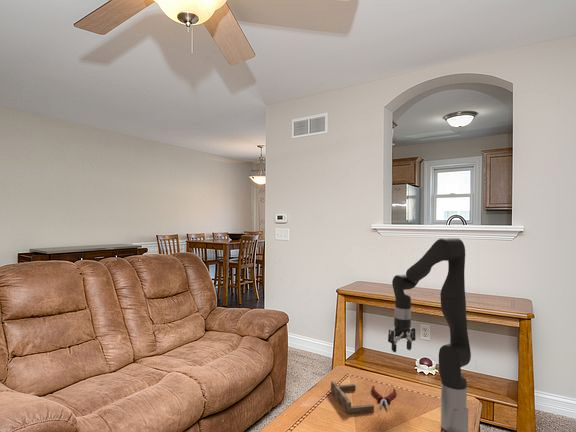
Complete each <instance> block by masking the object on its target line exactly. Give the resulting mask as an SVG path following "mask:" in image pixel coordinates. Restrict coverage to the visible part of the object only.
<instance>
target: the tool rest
mask: <svg viewBox="0 0 576 432" xmlns="http://www.w3.org/2000/svg"><path fill="white" fill-rule="evenodd" d="M356 389H357V388H356V384H355V383H350V384H340V385H338V383H336V381H335V380H330V392H331V394H332V395H333V397H334V398H335V399H336V401H337V403H339V404H340V407H341V408H343V410H344V412H345V413H346V414H347V415H357V414H364V413H365V414H366V413H373V412H375V405H374V404H372V403H370V404H360V405H353V406H352V402H351V400H350V399H349V398H348V397H347V395H346V394H345V392H355V391H356Z"/></svg>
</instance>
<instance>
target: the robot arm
mask: <svg viewBox="0 0 576 432" xmlns="http://www.w3.org/2000/svg"><path fill="white" fill-rule="evenodd" d="M443 261H444V262H445V261H446V262H447V263H448V270H447V276H446V278H445V280H444V282H443V284H442V287H441V291H440V294H439V295H440V296H439V297H440V309H441V312H442V315H443V317H444V319H445V321H446V323H447V325H448V327H449V332H450V333H449V335H450V338H449V339H450V341H449V343H447V344H443V345H441V347H440V348H439V351H438V372H439V377H440V380H441V381H440V382H441V384H440V427H441V429H443V431H445V432H469V408H467V407H468V406H467V405H468V403H467V399H468V392H467V391H468V390H467V389H468V381H467V379H466V377H464V376H463V375H462V367H465V366H468V365H469V363H470V362H471V360H472V359H471V357H472V353H471V346H470V340H469V333H468V323H467V322H468V321H467V319H468V318H467V300H466V290H465V289H466V288H465V285H466V284H465V267H466V265H465V264H466V247H465V244H464V242H463V240H462V239H460V238H459V237H444V238H443V237H442V238H438V239H437V240H436V241H435V242H434V243H433V244H432V245H431V246H430V248H429V249H428V250H427V251H426V252H425V253H424V254H423V256H422V257H420V258H419V259H418V260H417V261H416V262H415V263H414V264H412V265H411V266H410V267H409V268H407V270H406V272H405V274H397V275H394V276H393V278H392V282H391V283H392V284H391V285H392V290H393V294H394V298H395V300H394V302H395V303H394V314H393V315H394V317H393V318H394V320H393V326H394V329H388V335H387V342H388V343H390V344H391V351H392V352H393V353H397V346H398V345H397V344H398V342H399V341H400V340H402V339H406V349H407V350H408V351H411V349H412V343H413V342H414V341H416V328H415V327H412V299H411V296H410V295H409V294H407V293H405V290H406V291H407V290H411V289H414V288H415V287H417V285H418V283H419V282H420V281H422V280H423V279H424V278H425V277H427V276H428V275H429V274H430V272H431V271H432V268H433V266H435V265H436V264H438V263H441V262H443Z"/></svg>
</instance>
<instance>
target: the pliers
mask: <svg viewBox="0 0 576 432" xmlns="http://www.w3.org/2000/svg"><path fill="white" fill-rule="evenodd" d="M370 391H371V394H372V395H373V396H374V398H376V402H377V403H379V409H380V410H382V408H383V406H384V408H385V409H386V410H388V406H389V405H390V404H391V401H392V400H393V399H395V398H396V396H397V390H396V388H395V387H394V388H392V392H391V393H390V394H388V395H386V396H385V397H383V396H382V395H381V394H380V392H378V391H377V390H376V389H375V385H372V387H371V390H370ZM388 404H389V405H388Z"/></svg>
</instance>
